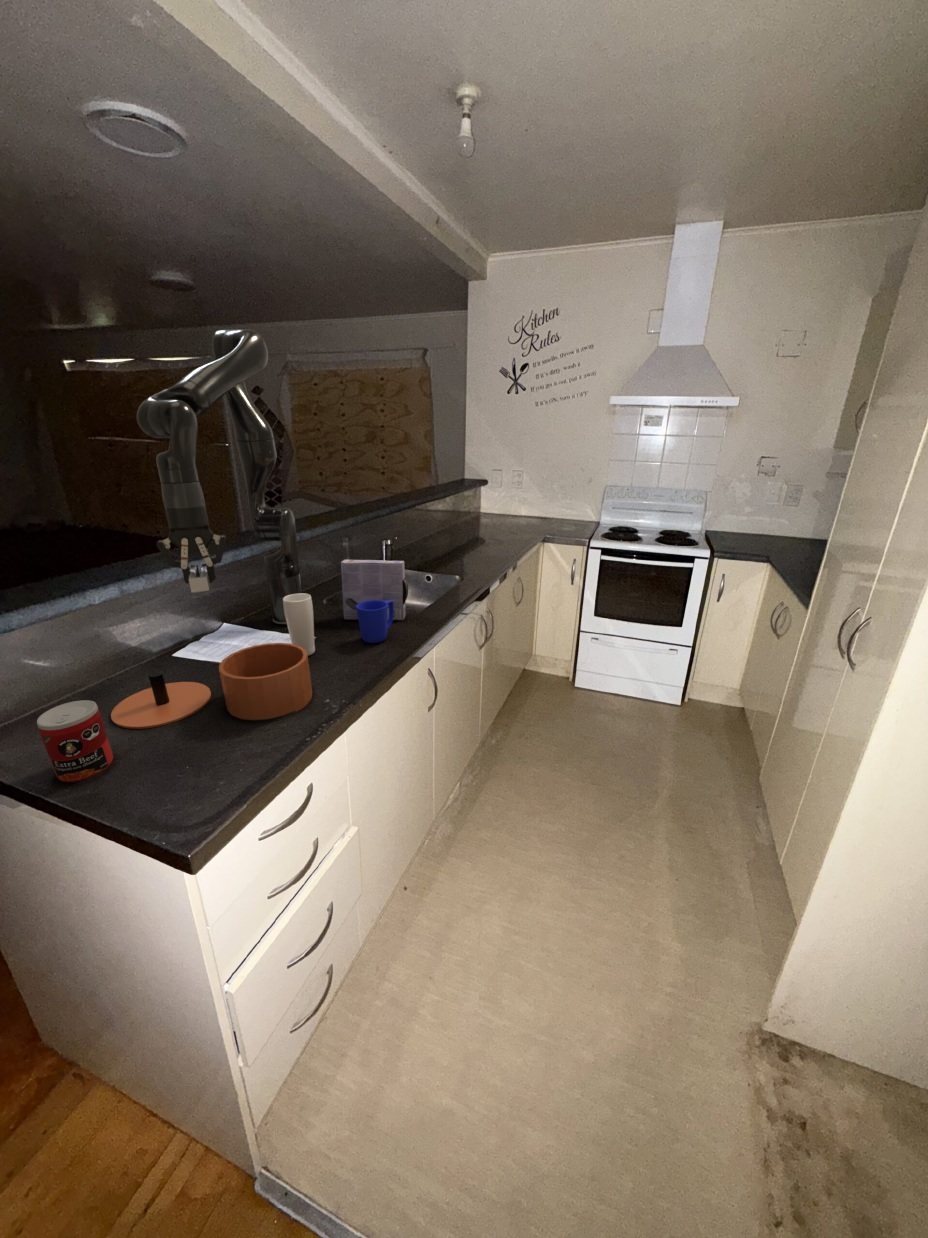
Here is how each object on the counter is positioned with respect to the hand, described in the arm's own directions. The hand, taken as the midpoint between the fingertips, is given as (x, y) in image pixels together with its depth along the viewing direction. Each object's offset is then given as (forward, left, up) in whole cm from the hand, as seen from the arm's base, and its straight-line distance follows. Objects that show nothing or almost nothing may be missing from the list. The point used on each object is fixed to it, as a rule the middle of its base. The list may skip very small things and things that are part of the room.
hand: (201, 583), depth 107 cm
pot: (+21, +10, -21) cm, 31 cm away
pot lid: (+14, -10, -21) cm, 27 cm away
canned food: (+31, -20, -22) cm, 43 cm away
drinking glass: (0, +20, -22) cm, 29 cm away
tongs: (0, 0, 0) cm, 0 cm away
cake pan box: (-16, +44, -22) cm, 51 cm away
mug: (-2, +40, -22) cm, 45 cm away
